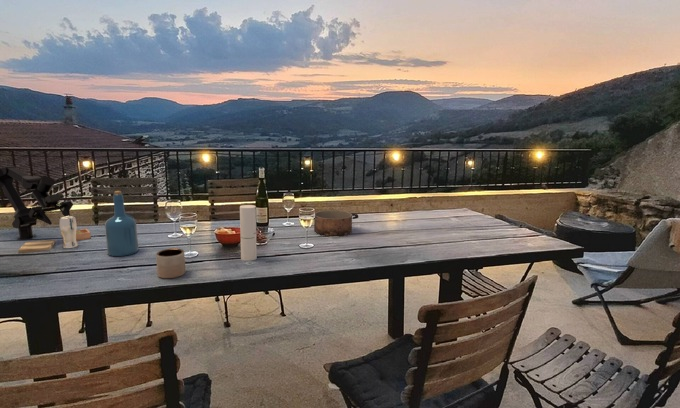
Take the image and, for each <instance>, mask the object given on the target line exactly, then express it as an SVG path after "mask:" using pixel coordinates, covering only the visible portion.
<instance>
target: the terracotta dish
mask: <svg viewBox="0 0 680 408" xmlns="http://www.w3.org/2000/svg"><path fill="white" fill-rule="evenodd" d="M78 231H81V232H82V233H79V234H76V241H77V242H78V241H83V240H89V239H92V237H91V232H90V230H89V229H88V228H82V229H77V231H76V232H78Z"/></svg>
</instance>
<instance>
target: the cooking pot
mask: <svg viewBox="0 0 680 408" xmlns="http://www.w3.org/2000/svg"><path fill="white" fill-rule="evenodd" d="M314 214H315V218H314V219H313V220H314V221H313V222H314V224H313V227H314V230H313V231H314V233H315V232H316V233H317V234H316V233H315V234H316V235H318V234H320V235H319V236H322V235H325V236H324V237H329V236H339V237H345V236H344V235H346V236H349V235H350V234H352V231H353V230H352V229H353V227H352V225H353V220H355V219H359V215H358V214H357V213H350V211H349V212H348V211H344V210H332V209H331V210H330V209H329V210H320V211H316V212H315V213H314ZM348 234H349V235H348Z"/></svg>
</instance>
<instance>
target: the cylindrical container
mask: <svg viewBox="0 0 680 408" xmlns="http://www.w3.org/2000/svg"><path fill="white" fill-rule="evenodd" d="M256 208H257V206H256V205H254V204H244V205H242V204H241V205H240V206H239V225H240V231H239V232H240V259H241V261H245V262H251V261H256V260H257V256H258V253H257V211H256Z"/></svg>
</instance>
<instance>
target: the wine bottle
mask: <svg viewBox="0 0 680 408" xmlns="http://www.w3.org/2000/svg"><path fill="white" fill-rule="evenodd" d="M112 198H113V200H112V202H113V206H114V207H113V209H114V210H113V211H114V215H113V216H111V217H109V218H108V219H107V220H105V224H104V229H105V239H106V240H105V241H106V250H107V254H108V255H109V256H112V257H125V256H131V255H134V254H135V253H136V254H137V252H138V251H139V241H138V238H139V237H138V229H137V228H138V227H137V222H136V220H135V217H134V216H132V215H130V214H128V213H126V210H125V202H124V201H125V200H124V195H123V193H122V191H121V190H115V191H114V194H113V197H112Z"/></svg>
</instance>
